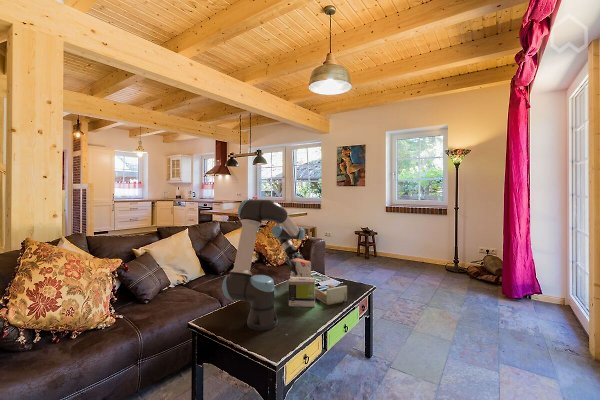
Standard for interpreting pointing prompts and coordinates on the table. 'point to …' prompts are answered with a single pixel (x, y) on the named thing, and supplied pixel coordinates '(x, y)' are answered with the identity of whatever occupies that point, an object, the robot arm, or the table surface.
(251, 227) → the robot arm
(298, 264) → the cracker box
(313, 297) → the tea box
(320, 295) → the book trough
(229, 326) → the table surface
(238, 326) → the table surface
